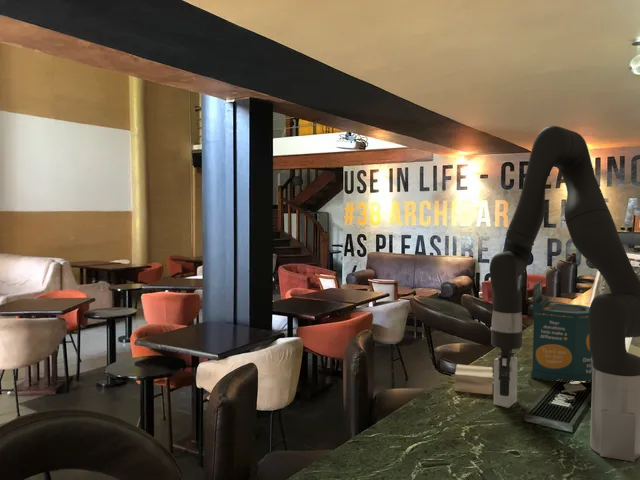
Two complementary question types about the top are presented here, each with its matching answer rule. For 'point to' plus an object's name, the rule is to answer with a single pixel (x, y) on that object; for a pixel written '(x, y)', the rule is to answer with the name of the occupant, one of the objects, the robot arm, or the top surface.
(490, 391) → the birch block
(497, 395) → the skincare box
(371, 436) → the top surface
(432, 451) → the top surface
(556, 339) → the donation box
